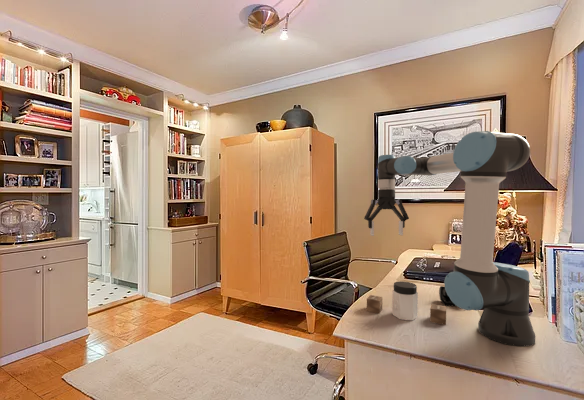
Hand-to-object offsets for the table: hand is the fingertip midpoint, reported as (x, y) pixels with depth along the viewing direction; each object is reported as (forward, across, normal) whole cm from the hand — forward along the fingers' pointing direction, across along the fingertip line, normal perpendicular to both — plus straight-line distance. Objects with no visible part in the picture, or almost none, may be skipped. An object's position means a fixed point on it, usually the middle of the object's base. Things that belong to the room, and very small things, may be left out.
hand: (386, 235), depth 136 cm
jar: (+28, +3, +24) cm, 37 cm away
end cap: (+28, -24, +14) cm, 39 cm away
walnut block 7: (+27, +12, +18) cm, 35 cm away
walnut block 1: (+28, -7, +29) cm, 41 cm away
